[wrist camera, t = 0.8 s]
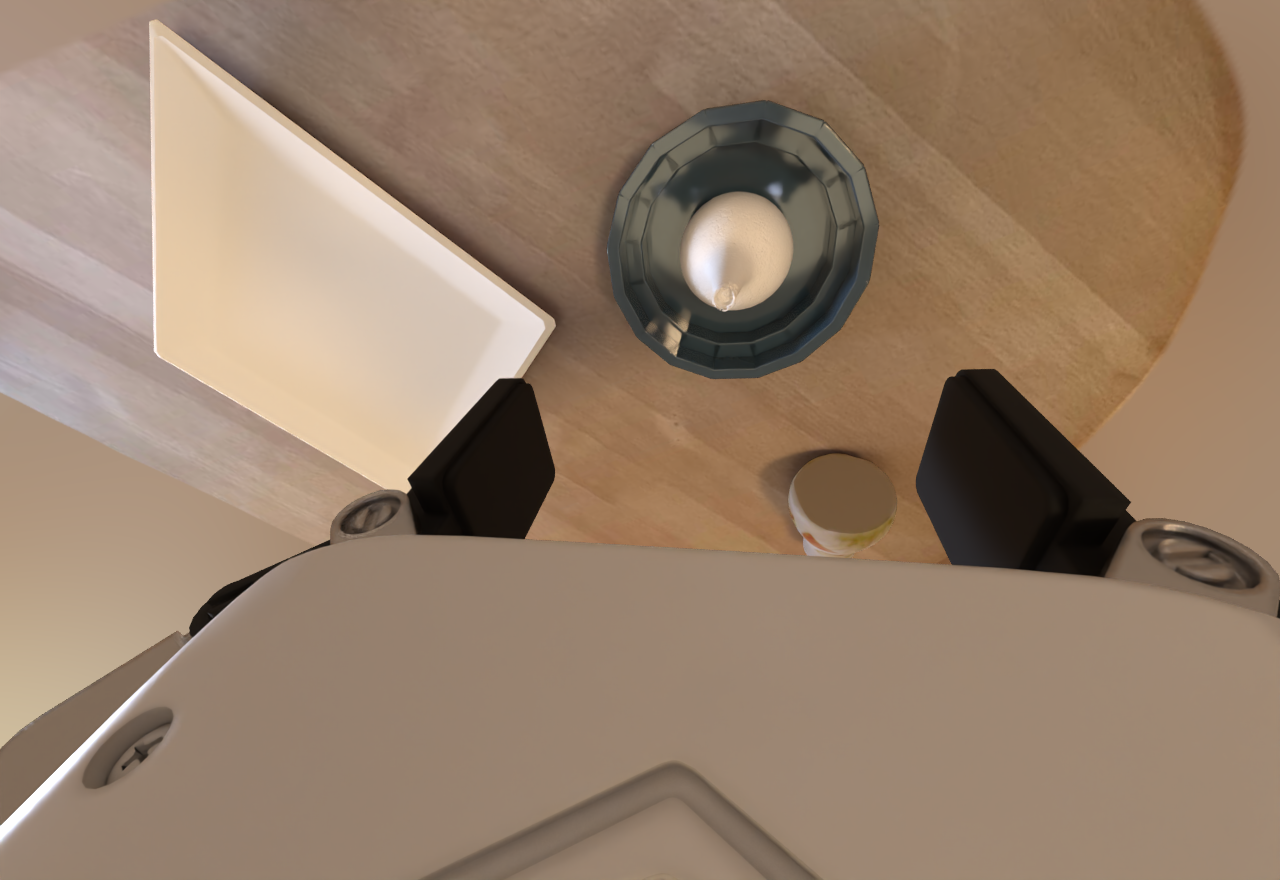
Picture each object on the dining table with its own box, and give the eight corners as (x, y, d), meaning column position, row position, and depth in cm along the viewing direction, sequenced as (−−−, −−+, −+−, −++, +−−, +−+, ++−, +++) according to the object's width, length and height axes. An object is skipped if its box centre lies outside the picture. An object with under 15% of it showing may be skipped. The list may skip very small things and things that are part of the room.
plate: (175, 345, 40) (150, 355, 38) (182, 19, 25) (144, 12, 24) (439, 502, 46) (428, 516, 45) (566, 312, 32) (557, 323, 30)
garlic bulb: (813, 225, 26) (838, 263, 19) (748, 317, 29) (751, 375, 23) (718, 165, 25) (711, 184, 18) (664, 268, 28) (642, 313, 22)
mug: (784, 542, 41) (768, 587, 32) (803, 438, 40) (793, 455, 30) (874, 565, 38) (885, 622, 29) (900, 454, 37) (919, 479, 28)
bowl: (607, 123, 25) (588, 125, 22) (880, 84, 22) (904, 79, 19) (637, 355, 33) (626, 381, 30) (841, 348, 30) (853, 376, 27)
